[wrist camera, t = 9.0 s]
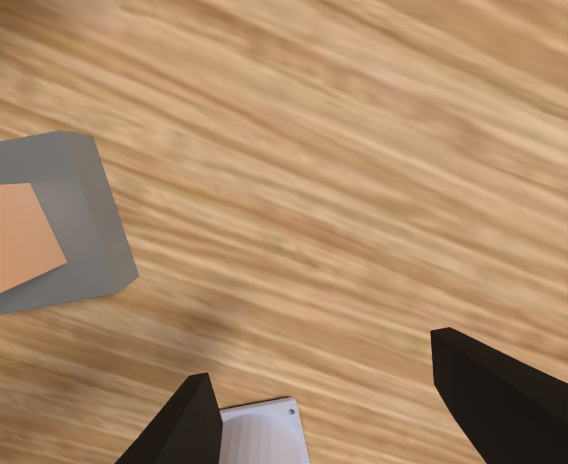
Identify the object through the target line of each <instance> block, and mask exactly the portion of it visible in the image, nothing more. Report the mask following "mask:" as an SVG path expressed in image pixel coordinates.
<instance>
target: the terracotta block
mask: <svg viewBox="0 0 568 464" xmlns="http://www.w3.org/2000/svg"><path fill="white" fill-rule="evenodd" d="M65 263H67V260H66V258H65V256H64V254H63V252H62V250H61V248H60V246H59V244H58V241H57V239H56V237H55V235H54V233H53V231H52V229H51V227H50V224H49V222H48V220H47V218H46V216H45V214H44V212H43V210H42V207H41V205H40V203H39V201H38V199H37V197H36V195H35V193H34V190H33V188H32V186H31V184H30V183H21V184H5V185H0V293H2V292H4V291H6V290H8V289H10V288H13V287H15V286H17V285H19V284H21V283H23V282H26V281H28V280H30V279H32V278H34V277H37V276H39V275H41V274H43V273H45V272H48V271H50V270H52V269H54V268H56V267H59V266H61V265H63V264H65Z"/></svg>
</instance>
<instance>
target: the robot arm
mask: <svg viewBox="0 0 568 464" xmlns="http://www.w3.org/2000/svg"><path fill="white" fill-rule="evenodd" d="M430 333H431V347H432V362H433V376H434V385H435V387H436V388H437V390H438V392H439V394H440V396H441V397H442V399H443V401H444V403H445V404H446V406H447V408H448V409H449V411H450V413H451V414H452V416H453V418H454V419H455V420H456V422H457V423H458V425H459V426H460V428H461V429H462V430H463V432H464V433H465V434H466V436H467V437H468V439H469V440H470V441H471V443H472V444H473V445H474V447H475V448H476V450H477V451H478V452H479V454H480V455H481V456H482V458H483V459H484V460H485V462H486V463H487V464H568V383H566V382H563V381H561V380H559V379H557V378H554V377H552V376H550V375H548V374H546V373H544V372H541V371H539V370H537V369H535V368H533V367H531V366H529V365H527V364H524V363H522V362H520V361H518V360H516V359H514V358H512V357H510V356H508V355H506V354H504V353H502V352H500V351H498V350H496V349H494V348H492V347H490V346H488V345H486V344H484V343H482V342H480V341H478V340H476V339H474V338H472V337H470V336H467V335H465V334H463V333H461V332H459V331H457V330H455V329H453V328H450V327H448V328H442V329H437V330H432V331H430ZM290 409H293V410H290ZM115 464H310V462H309V457H308V453H307V448H306V444H305V439H304V435H303V430H302V425H301V421H300V416H299V412H298V407H297V402H296V400H295V399H294V398H291V397H289V398H283V399H278V400H272V401H267V402H262V403H256V404H251V405H245V406H240V407H235V408H229V409H224V410H219V408H218V404H217V401H216V398H215V394H214V391H213V388H212V384H211V381H210V378H209V374H208V372H207V373H201V374H196V375H191V376H189V377H188V378H187V379H186V380H185V381H184V382H183V384H182V385H181V386H180V387H179V388H178V390H177V391H176V392H175V393H174V394H173V396H172V397H171V398H170V399H169V401H168V402H167V403H166V404H165V406H164V407H163V408H162V409H161V410H160V412H159V413H158V414H157V415H156V416H155V418H154V419H153V420H152V421H151V422H150V424H149V425H148V426H147V427H146V428H145V430H144V431H143V432H142V433H141V434H140V436H139V437H138V438H137V439H136V440H135V441H134V443H133V444H132V445H131V446H130V447H129V448H128V449H127V450H126V451H125V453H124V454H123V455H122V456H121V457H120V458H119V459H118V460H117V462H116V463H115Z"/></svg>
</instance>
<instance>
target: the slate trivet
mask: <svg viewBox="0 0 568 464" xmlns="http://www.w3.org/2000/svg"><path fill="white" fill-rule="evenodd" d="M21 183H30V184H31V186H32V188H33V190H34V193H35V195H36V197H37V199H38V201H39V203H40V205H41V207H42V210H43V212H44V214H45V216H46V218H47V220H48V222H49V224H50V227H51V229H52V231H53V233H54V235H55V237H56V239H57V241H58V244H59V246H60V248H61V250H62V252H63V254H64V256H65V258H66V260H67V263H65V264H63V265H61V266H59V267H56V268H54V269H52V270H50V271H48V272H45V273H43V274H41V275H39V276H37V277H34V278H32V279H30V280H28V281H26V282H23V283H21V284H19V285H17V286H15V287H13V288H10V289H8V290H6V291H4V292H2V293H0V315H1V314H7V313H12V312H18V311H23V310H29V309H34V308H40V307H45V306H51V305H56V304H62V303H67V302H72V301H78V300H83V299H89V298H94V297H100V296H105V295H111V294H116V293H119V292H121V291H122V290H123V289H124V288H125V287H127V286H128V285H129V284H130V283H132V282H133V281H134V280H135V279H136V278H138V277H139V274H138V271H137V268H136V265H135V262H134V259H133V256H132V253H131V250H130V247H129V244H128V241H127V238H126V235H125V232H124V229H123V226H122V223H121V220H120V217H119V214H118V211H117V208H116V205H115V202H114V198H113V195H112V192H111V189H110V186H109V183H108V180H107V177H106V174H105V171H104V168H103V165H102V162H101V159H100V156H99V153H98V150H97V147H96V144H95V141H94V138H93V136H92V135H86V134H80V133H73V132H67V131H61V130H60V131H55V132H49V133H44V134H39V135H33V136H28V137H23V138H17V139H12V140H7V141H1V142H0V185H5V184H21Z"/></svg>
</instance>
